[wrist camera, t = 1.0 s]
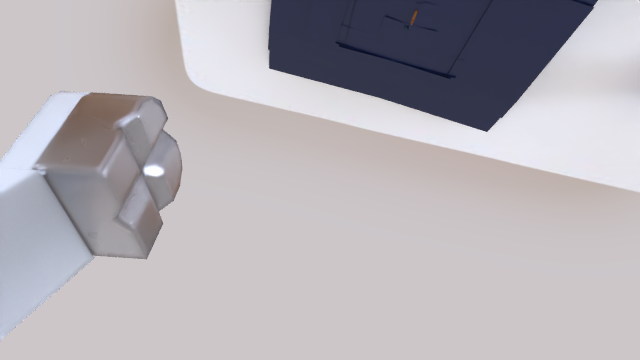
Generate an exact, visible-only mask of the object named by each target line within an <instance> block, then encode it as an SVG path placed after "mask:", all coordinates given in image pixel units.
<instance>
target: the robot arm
mask: <svg viewBox="0 0 640 360" xmlns="http://www.w3.org/2000/svg"><path fill="white" fill-rule="evenodd" d="M167 119H168V117H167V114H166V112H165V110H164V107H163V105H162V102H161V101H160V100H158V99H156V98H154V97H151V96H137V95H122V94H105V93H81V92H65V91H60V92H58V93H55V94H53V95H51V96H50V97H49V98H48V100H47V101H46V102H45V103H44V105H43V106H42V107H41V109H40V110H39V111H38V112H37V114H36V115H35V116H34V118H33V119H32V120H31V122H30V123H29V124H28V126H27V127H26V128H25V129H24V131H23V132H22V133H21V135H20V136H19V137H18V138H17V140H16V141H15V142H14V144H13V145H12V146H11V148H10V149H9V150H8V152H7V153H6V154H5V155H4V157H3V158H2V159H1V161H0V340H1V339H2V338H3V337H5V336H6V335H7V334H8V333H9V332H10V331H12V330H13V329H14V328H15V327H16V326H17V325H18V324H20V323H21V322H22V321H23V320H24V319H25V318H27V317H28V316H29V315H30V314H31V313H32V312H33V311H35V310H36V309H37V308H38V307H39V306H40V305H41V304H42V303H44V302H45V301H46V300H47V299H48V298H49V297H51V296H52V295H53V294H54V293H55V292H56V291H57V290H59V289H60V288H61V287H62V286H63V285H64V284H65V283H66V282H68V281H69V280H70V279H71V278H72V277H73V276H75V275H76V274H77V273H78V272H79V271H80V270H81V269H83V268H84V267H85V266H86V265H87V264H88V263H89V262H91V261H92V260H93V259H94V257H93V255H94V256H108V257H123V258H138V259H147V257H148V255H149V253H150V251H151V249H152V247H153V245H154V242H155V240H156V238H157V236H158V234H159V231H160V229H161V227H162V225H163V222H162V219H161V216H160V214H159V211H160V210H161V209H163V208H164V207H165V206H167V205H168V204H170V203H171V202H172V201H174V198H175V196H176V194H177V191H178V189H179V187H180V180H181V174H182V160H181V153H180V150H179V147H178V144H177V141H176V140H175V139H174V138H172V137H171V136H170V135H169V134H168V133H167V132H165V131H164V130H163V127H164V125H165V123H166V121H167Z"/></svg>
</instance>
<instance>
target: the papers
mask: <svg viewBox="0 0 640 360" xmlns="http://www.w3.org/2000/svg"><path fill="white" fill-rule="evenodd" d="M597 1H598V0H272V2H271V14H270V26H269V45H268V50H270V56H269V68H270V69H273V70H277V71H281V72H285V73H289V74H292V75H296V76H300V77H304V78H307V79H311V80H315V81H319V82H322V83H326V84H330V85H334V86H337V87H341V88H345V89H349V90H352V91H356V92H360V93H364V94H368V95H371V96H375V97H379V98H382V99H385V100H388V101H391V102H395V103H398V104H401V105H404V106H407V107H410V108H413V109H417V110H420V111H423V112H426V113H429V114H432V115H435V116H439V117H442V118H445V119H448V120H451V121H454V122H457V123H461V124H464V125H467V126H470V127H473V128H476V129H479V130H483V131H486V132H487V131H488V130H489V129H490V128H491V127H492V126H493V125H494V124H495V123H496V122H497V121H498V120H499V118H500V117H501V118H502V117H503V116H504V115H505V114H506V113H507V111H508V110H509V109H510V108H511V107H512V106H513V105H514V104H515V103H516V102H517V101H518V99H519V98H520V97H521V96H522V94H523V93H524V92H525V91H526V90H527V88H528V87H529V86H530V85H531V84H532V82H533V81H534V80H535V79H536V77H537V76H538V75H539V74H540V73H541V71H542V70H543V69H544V68H545V67H546V65H547V64H548V63H549V62H550V60H551V59H552V58H553V57H554V56H555V54H556V53H557V52H558V51H559V50H560V48H561V47H562V46H563V45H564V43H565V42H566V41H567V40H568V39H569V37H570V36H571V35H572V34H573V33H574V31H575V30H576V29H577V28H578V26H579V25H580V24H581V23H582V22H583V20H584V19H585V18H586V17H587V16H588V14H589V13H590V12H591V11H592V10H593V8H594V7H593V6H594V5H595V3H596V2H597Z"/></svg>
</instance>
